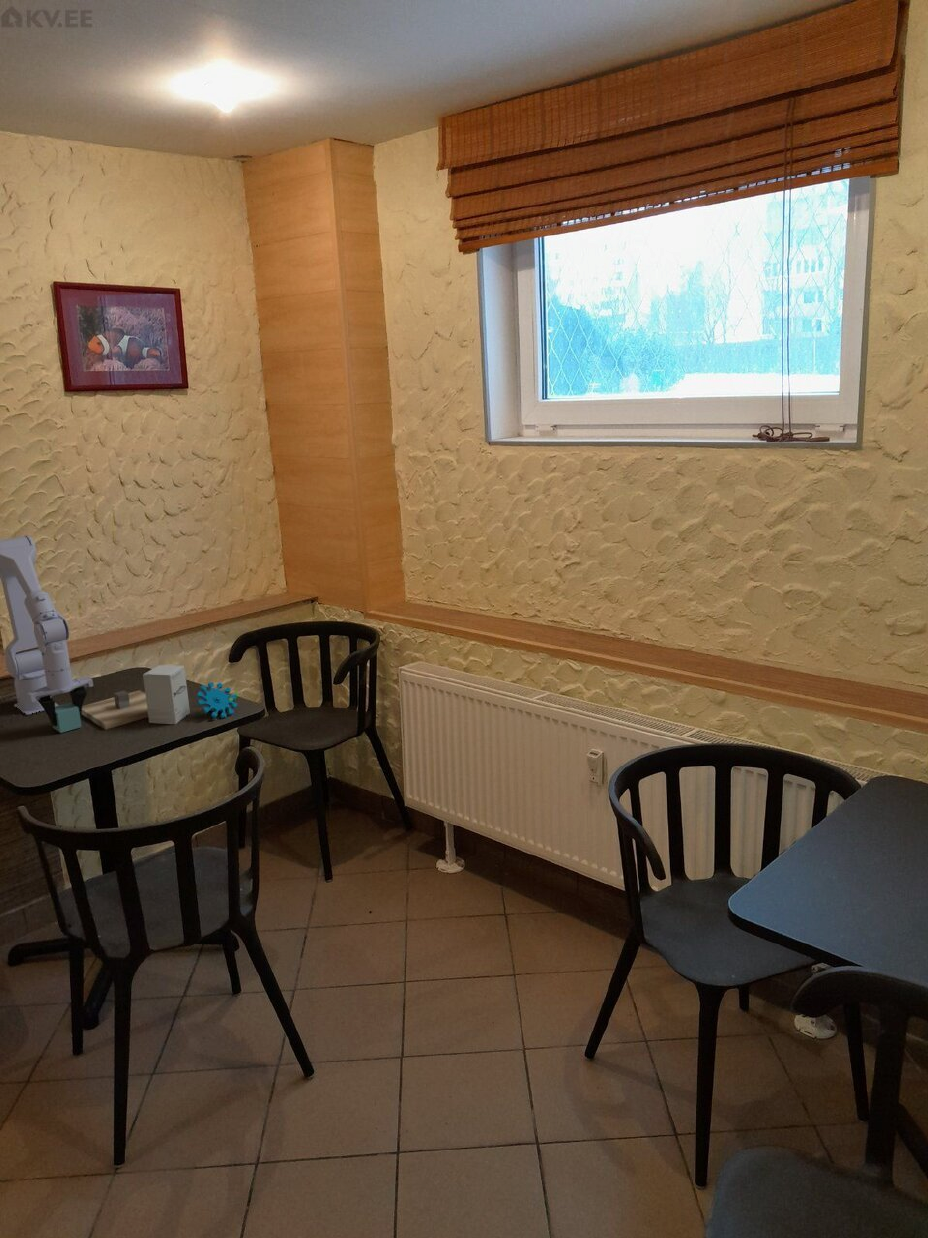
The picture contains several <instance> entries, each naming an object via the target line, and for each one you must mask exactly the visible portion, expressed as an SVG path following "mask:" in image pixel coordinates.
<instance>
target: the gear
mask: <svg viewBox="0 0 928 1238" xmlns="http://www.w3.org/2000/svg"><path fill="white" fill-rule="evenodd" d="M214 685H215V682H212V681H209V682H208V684H207V685H206V684H203V685H201V686H200V688H199V689H200V691H198V693H197V694H196V697H197V698H200V699H198V701H197V705H198V706H199V707H201V706H206V707H203V708H202V711H203V713H204V714H207V713H208V712H209V711H212V712H211V714H210V716H211V717H212V718H214V719H216V718H217V717H218V713H219V712H221V714H220V716H219V717H220V718H221V719H225V718H224V717H226V718H227V716H228V715H229V716H231V715H233V714H234V713H235V708H236V707H237V706H238V703H237V702H235V701H236V699H238V698H239V696H240V693H238V692H235V693H234V694H230V693H231V691H232V690H231V688H230V687H229V686H228V687H225V689H223V686H224V684H223V683H221V682H218V683H217V684H216V688H214V689H213V687H214ZM207 688H208V689H209V690H207ZM221 689H222V690H221ZM230 706H231V707H230ZM226 710H227V713H226ZM227 714H228V715H227ZM230 714H231V715H230Z"/></svg>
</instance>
